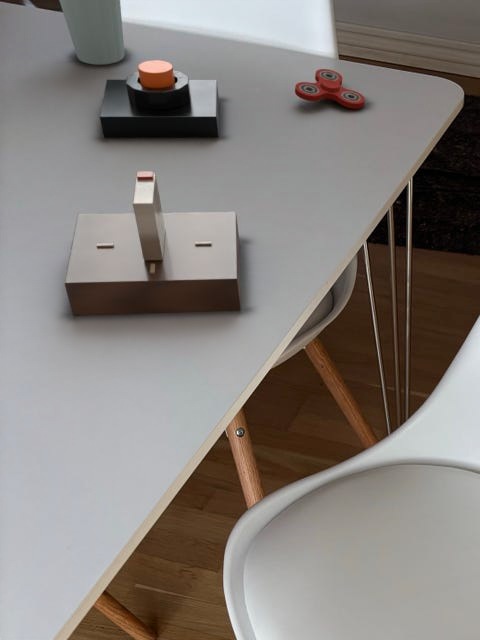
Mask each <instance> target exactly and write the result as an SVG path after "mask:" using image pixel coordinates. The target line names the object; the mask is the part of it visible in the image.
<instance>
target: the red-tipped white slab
mask: <svg viewBox="0 0 480 640" xmlns="http://www.w3.org/2000/svg"><path fill="white" fill-rule="evenodd" d="M135 176H136V177H135V183H134V190H133V199H132V207H133V213H135V218H136V223H137V229H138V234H139V239H140V244H141V249H142V254H143V259H144V260H163V251H164V238H165V225H164V219H163V213H164V212H163V209H162V208H163V207H162V202H161V196H160V191H159V185H158V179H157V174H156V173H154V171H137V172H136V174H135Z"/></svg>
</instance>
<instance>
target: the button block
mask: <svg viewBox="0 0 480 640" xmlns="http://www.w3.org/2000/svg"><path fill="white" fill-rule="evenodd" d="M173 73H174V79H175V84H174V85H172V86H169V87H164V88H150V87H146V86H142V85H141V82H140V77H139V71H138V70H137V71H135V72H133V73H131V74H130V75H128V76H127V77H126V79H106V81H105V86H104V92H103V97H102V103H101V107H100V108H101V109H100V113H99V120H100V125H101V129H102V134H103V138H104V139H151V138H152V139H153V138H154V139H160V138H161V139H165V138H166V139H168V138H169V139H171V138H172V139H179V138H180V139H183V138H184V139H185V138H189V139H191V138H192V139H194V138H195V139H196V138H197V139H198V138H200V139H201V138H202V139H203V138H205V139H206V138H219V137H220V97H219V89H218V80H217V79H190V78H189V77H188V76H187V75H186V74H184V73H183V72H181V71H179V70H174V69H173Z"/></svg>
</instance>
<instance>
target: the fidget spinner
mask: <svg viewBox="0 0 480 640" xmlns="http://www.w3.org/2000/svg"><path fill="white" fill-rule="evenodd" d="M314 75H315V76H314V79H315V81H316V82H308V81H301V82H297V83H296V84H295V86H294V94H295V95H296V96H297V97H299V99H302V100H304V101H308V102H319V101H321V100H324V99H325V100H331V101H332V100H333V101H336V102H337V103H338V104H340V105H341V106H343V107H346V108H348V109H353V110H356V109H362V108H364V106H365V100H366V99H365V96H364V95H363V94H361V93H360V92H358V91H355V90H352V89H348V88H345V87H343V86H342V85H343V76H342V74H340V72H337V71H335V70H333V69H328V68H320V69H317V70H316V71H315V74H314Z"/></svg>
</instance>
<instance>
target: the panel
mask: <svg viewBox="0 0 480 640" xmlns="http://www.w3.org/2000/svg"><path fill="white" fill-rule="evenodd" d="M162 213H163V219H164V225H165V238H164V251H163V260H144V259H143V254H142V249H141V244H140V239H139V234H138V229H137V223H136V218H135V213H134V212H125V213H124V212H123V213H122V212H121V213H119V212H118V213H115V212H113V213H78V214H77V216H76V223H75V227H74V232H73V236H72V242H71V247H70V252H69V258H68V264H67V268H66V274H65V279H64V287H65V290H66V291H65V292H66V294H67V299H68V302H69V306H70V310H71V313H72V316H96V315H97V316H98V315H132V314H161V313H162V314H163V313H192V312H193V313H197V312H231V311H233V312H235V311H241V310H242V296H241V295H242V294H241V293H242V291H241V247H240V245H241V243H240V242H241V241H240V233H239V224H238V215H237V212H236V211H195V212H194V211H193V212H192V211H189V212H162Z"/></svg>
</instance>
